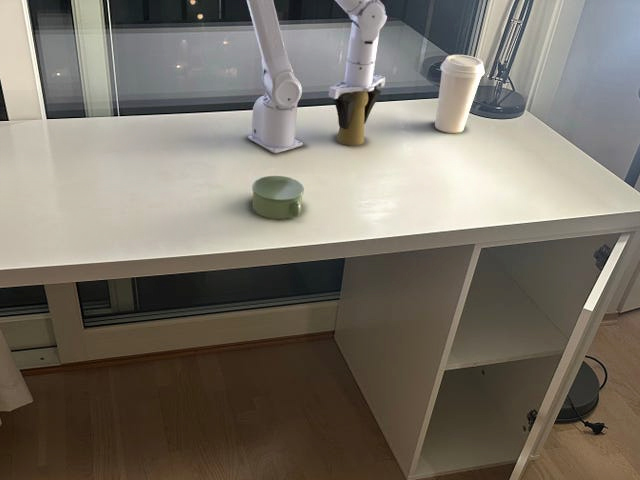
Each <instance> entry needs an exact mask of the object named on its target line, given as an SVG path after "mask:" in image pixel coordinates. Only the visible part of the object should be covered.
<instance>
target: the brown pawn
mask: <svg viewBox="0 0 640 480" xmlns="http://www.w3.org/2000/svg"><path fill="white" fill-rule="evenodd" d="M350 96H351V98H353V99H355V100H357V101H356V103H355V105H354V107H353V110H352V113H351V117H350V122H349V126H348V129H343V128H341V127H339V126H338V131H337V134H336V141H337V142H338V143H340V145H345V146H349V147H350V146H351V147H355V146H361V145H363V144H364V142H365V124H364V108H365V106H366V104H367V102H368V93H367V92H366V91H355V92H353V93H351V94H350Z"/></svg>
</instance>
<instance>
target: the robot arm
mask: <svg viewBox="0 0 640 480" xmlns="http://www.w3.org/2000/svg"><path fill="white" fill-rule="evenodd" d="M334 1H335V2H336V3H337V5H339V6H340V7H341V9H343V11H344V12H345V13H346V14H348V17H349V19H350V20H352V22H351V27H350V29H351V30H350V35H349V41H348V48H347V49H348V50H347V58H346V65H345V74H344V78H343V80H341V81H339V82H338V83H336V84H334V85H332V86H331V85H330V86H329V87H328V96H327V97H329V98H331V99H332V101H333V103H334V106H335V109H336V113H337V120H338V128H339V127H341V128H343V129H348V126H349V122H350V117H351V113H352V110H353V107H354V105H355V103H356V101H357V100H355V99H353V98H351V96H350V94H351V93H353V92H355V91H366V92H367V93H368V102H367V104H366V106H365V108H364V125H365V124H366V123H367V121H368V119H369V116H370V115H371V112H372V109H373V107H374V106H375V105H376V102H377V101H378V100H379V98H380V97H381V96H382V95H381V94H382V91H381V90H380V89H377V88H383V87H385V83H386V77H385V76H383V75H380V74H377V75H374V71H375V64H376V58H377V51H378V46H379V45H378V44H379V38H380V32H381V31H380V30H381V29H382V28H383V27H384V26H385V24H386V22H387V19H388V15H387V13H386V11H387V10H386V7H385V4H383V2H381V0H334ZM246 3H247V6H248V10H249V15H250V17H251V22H252V26H253V30H254V33H255V36H256V40H257V43H258V44H257V45H258V47H259V51H260V55H261V65H262V75H261V84H262V86H263V88H264V89H265V90H266V91H265V94H264V95H261V96H260V97H258V98H257V99H256V101H255V102H254V105H253V106H252V115H251V116H252V117H251V118H252V119H251V135H249V136H248V140H250V141H252V142H254V143H256V144H257V145H259V146H261V147H263V148H264V149H265V150H267V151H270V152H272V153H273V154H279V153H282V152H286V151H289V150H292V149H296V148H299V147H302V146H303V145H304V143H303V142H302V141H300V140H298V139H296V127H297V117H298V116H297V115H298V103H299V101H300V100H301V97H302V94H303V87H302V85H301V82H300V81H299V80H298V79H297V77H296V76H295V75H294V71H293V68H292V65H291V63H290V60H289V57H288V55H287V52H286V51H287V50H286V47H285V43H284V39H283V35H282V29H281V27H280V23H279V22H280V21H279V19H278V14H277V10H276V7H275V2H274V0H246Z"/></svg>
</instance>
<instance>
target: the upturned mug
mask: <svg viewBox="0 0 640 480" xmlns="http://www.w3.org/2000/svg"><path fill="white" fill-rule="evenodd" d="M251 190H252V205H251V206H252V209H253V211H254V212H255V213H256V214H258V215H259V216H261V217H264V218H268V219H273V220H285V219H291V218H298V217H299V216H300V212H301V210H302V201H303V195H304V191H305V188H304V184H303V183H301V182H300V181H299V180H297V179H296V178H295V179H294V178H291V177H289V176H283V175H268V176H267V175H266V176H263V177H259V178H258V179H256V180H254V181H253V183H252V185H251Z"/></svg>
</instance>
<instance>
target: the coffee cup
mask: <svg viewBox="0 0 640 480" xmlns="http://www.w3.org/2000/svg"><path fill="white" fill-rule="evenodd" d="M439 69H440V71H441V75H440V84H439V92H438V99H437V107H436V115H435V116H436V117H435V122H434V127H435V128H436V129H437V130H439V131H441V132H444V133H449V134H456V133H462V132H463V131H464V129H465V126H466V122H467V119H468V117H469V114H470V111H471V107H472V104H473V101H474V99H475V95H476V94H477V91H478V90H477V89H478V86H479V84H480V80H481V78H482V76H484V75H485V67H484V62H483V60H482V59H480V58H478V57H475V56H471V55H466V54H451V55H448V56H446V58H445V60H444V61H443V62H442V63H441V64H440V67H439Z"/></svg>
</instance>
